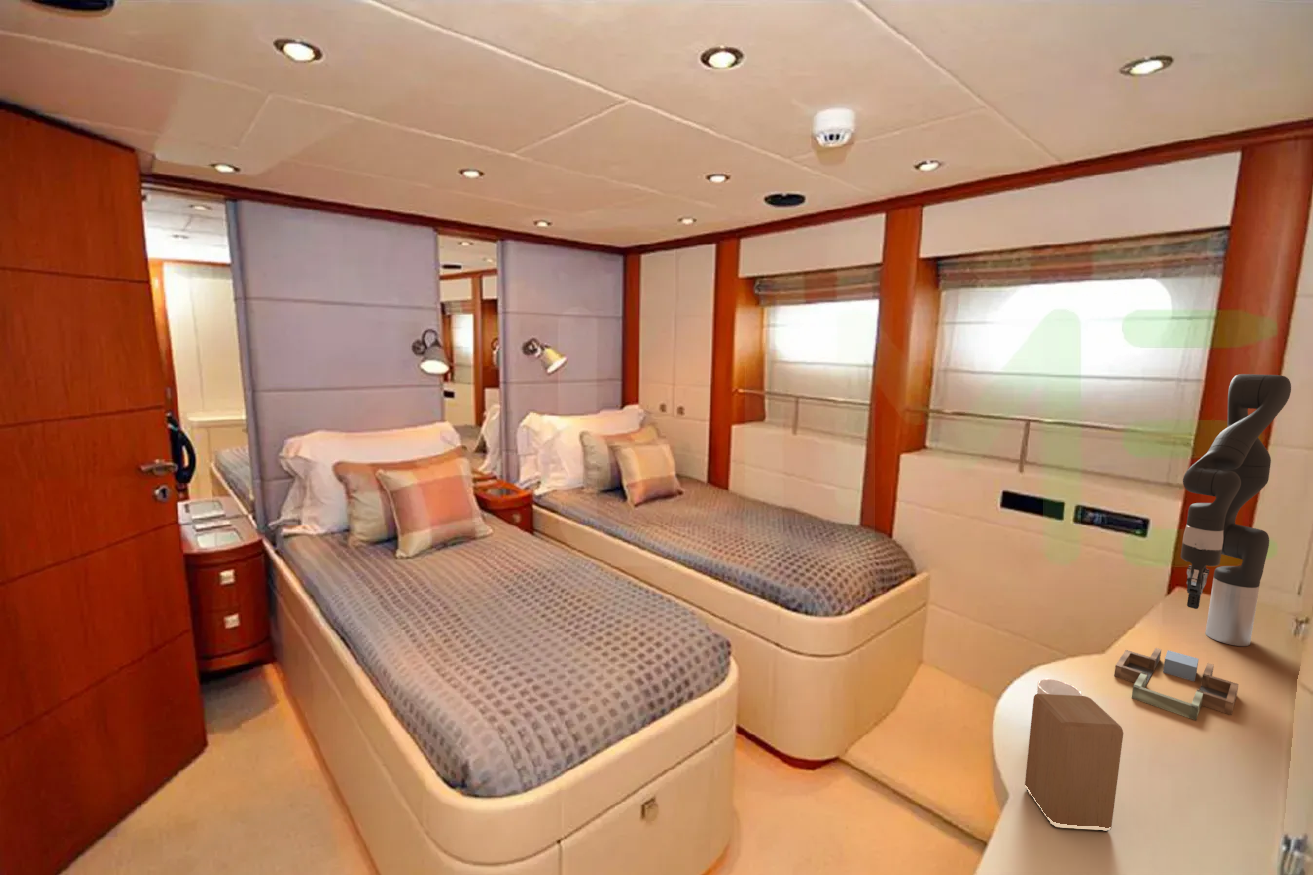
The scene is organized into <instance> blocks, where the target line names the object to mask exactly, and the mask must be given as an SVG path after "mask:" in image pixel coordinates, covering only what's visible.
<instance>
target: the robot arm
mask: <svg viewBox="0 0 1313 875" xmlns="http://www.w3.org/2000/svg"><path fill="white" fill-rule="evenodd" d="M1291 393H1292V383H1291V381H1290V378H1288V377H1287V376H1285V375H1280V374H1279V375H1278V374H1253V373H1241V374H1236V375H1234V377H1233V378H1232V379H1231V381H1230V383H1229V386H1228V393H1227V425H1226V426H1227V427H1226V428H1224V429H1223V430H1222V431H1220V432H1219V434H1218V435H1217V436H1216V437H1215V438H1214V440H1213V442H1212V444H1211V445H1210V447H1209V449H1208V450H1207V452H1206V453H1205V454H1204V455H1203V456H1201V457H1200V459H1198V460H1197V461H1195V462H1194V463H1193V464H1192V465H1191V466H1190V467H1189V468H1188V469H1187V470H1186V471H1185V473H1184V475H1183V477H1182V478H1183V479H1182V484H1183V487H1184V488H1185V490H1186V491H1188V492H1189V493H1193V494H1198V495H1204V496H1210V497H1215V499H1214V501H1213V502H1196V503H1192V504H1190V505H1189V507H1188V511H1187V518H1186V525H1185V528H1184V532H1183V537H1182V543H1181V549H1180V550H1181V551H1180V558H1181V559H1182V560H1183V561H1185V562H1186V563H1188V562H1189V563H1191V564H1188V567H1187V569H1186V576H1187V578H1186V585H1187V586H1186V587H1187V589H1186V592H1187V594H1188V595H1187V596H1188V597H1187V604H1186V606H1187V607H1188V608H1191V609H1194V610H1198V609H1199V607H1200V604H1201V603H1200V602H1201V598H1202V597H1201V596H1202V595H1203V590H1204V589H1205V586H1207V580H1208V577H1209V575H1210V569H1209V568H1207V566H1208V567H1216V568H1215V569H1214V572H1213V579H1212V586H1211V593H1210V600H1209V605H1208V606H1209V607H1208V613H1207V621H1206V626H1205V635H1206V636H1207V637H1208V638H1210V639H1212V640H1214V641H1217V642H1220V643H1223V644H1227V645H1232V646H1236V647H1237V646H1238V647H1248V646H1251V641H1252V635H1253V634H1252V633H1253V629H1254V624H1255V623H1254V622H1255V616H1256V610H1257V604H1258V599H1259V598H1258V597H1259V591H1260V584H1261V580H1262V577H1263V573H1264V569H1265V564H1266V559H1267V555H1268V551H1269V548H1270V537H1269V533H1268V532H1267V531H1265V530H1263V529H1259V528H1256V527H1250V526H1246V525H1240V524H1236V520H1237V516H1238V513H1239V511H1240V510H1241V508H1242V507H1243V506H1244V505H1245V504H1246V503H1247V502H1249V500H1251V499H1252V498H1253V497H1255V496H1256V495H1257V494H1258V493H1259V492H1261V490H1263V489H1264V488H1265V487H1266V485H1267V484H1268V481H1269V478H1270V471H1271V463H1272V459H1271V455H1270V453H1269V451H1268V449H1267V447H1265V445H1264V443H1262V441H1261V439H1260V438H1259V437H1260V436H1261V434H1262V433H1263V432H1264V431H1265V430H1266V429H1267V427H1269V425H1270V424H1271V423H1272V422H1273V421H1274V419H1276V417H1277V416H1278V415H1279V414H1280V412H1281V411H1282V410H1283V409H1284V407H1285V406H1286V405H1287V403H1288V401H1289V399H1290V396H1291ZM1249 409H1252V410H1254V411H1253V412H1252V413H1250V414H1249ZM1222 556H1227V557H1231V558H1236V559H1240V560H1242V562H1241V565H1222V566H1219V565H1220V564H1221V558H1222Z"/></svg>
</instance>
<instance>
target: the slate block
mask: <svg viewBox="0 0 1313 875" xmlns="http://www.w3.org/2000/svg"><path fill="white" fill-rule="evenodd" d="M1199 660H1200V658H1197V657H1193V656H1191V655H1187V654H1184V653H1180V652H1176V651H1172V650H1168V649H1167V651H1166V655H1165V657H1164V661H1163V670H1162V673H1163V674H1167V675H1171V676H1174V677H1178V678H1180V679H1184V680H1186V681H1187V680H1188V681H1191V682H1195V681H1196V676H1197V674H1198V666H1199Z"/></svg>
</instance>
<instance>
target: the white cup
mask: <svg viewBox="0 0 1313 875" xmlns="http://www.w3.org/2000/svg"><path fill="white" fill-rule="evenodd" d="M1036 690H1037V692H1036V694H1055V695H1075V696H1083V693H1081V690H1079V689H1078V688H1077V687H1075V686H1073V685H1072V684H1070V683H1067V682H1064V681H1061V680H1058V679H1052V678H1045V679H1044V678H1043V679H1041V680H1038V682H1037V689H1036Z"/></svg>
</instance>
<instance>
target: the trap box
mask: <svg viewBox="0 0 1313 875" xmlns="http://www.w3.org/2000/svg"><path fill="white" fill-rule="evenodd" d="M1161 655H1162V649H1161V648H1158V647H1155V648H1154V650H1153V651H1152V653H1151V654H1150V656H1147V655H1144V654H1141V653H1138V652H1134V651H1131V650H1128V649H1125V650H1124V652H1123V653H1122V655H1121V656H1120V658H1119V659H1118V661H1117V662H1116V664H1115V667H1114V674H1113V676H1114V677H1116V678H1119V679H1122V680H1125V681H1128V682H1130V683H1133V686H1132V692H1131V698H1132V699H1133V700H1136V701H1140V702H1143V703H1145V704H1148V705H1149V706H1153V707H1156V708H1159V709H1162V710H1164V711H1168V712H1171V713H1172V714H1173V713H1174V714H1176V715H1179V716H1182V717H1185V718H1188V719H1190V720H1193V721H1197V718H1198V716H1199V713H1200V711H1201V707H1205V708H1209V709H1211V710H1214V711H1218V712H1220V713H1222V714H1223V713H1224V714H1226V715H1229V716H1232V714H1233V710H1234V707H1235V705H1236V704H1235V703H1236V699H1237V695H1238V690H1239V683H1237V682H1234V681H1231V680H1227V679H1223V678H1220V677H1217V676H1214V674H1213V673H1214V668H1215V666H1214V664H1213V663H1209V662H1208V663H1206V665H1205V667H1204V669H1203V673H1202V677H1201V682H1200V683H1201V684H1200V687H1199V689H1197V688H1196V691H1195V693H1194V696H1193V699H1192V701H1191V703H1190V702H1188V701H1185V700H1182V699H1178V698H1175V697H1172V696H1170V695H1167V694H1164V693H1160V692H1157V691H1155V690H1151V689H1148V688H1146V686H1147V684H1148V682H1149V680H1150V679H1151V677H1152V676H1153V674H1154V672H1155V670H1156V668H1157V666H1158V664H1159V662H1160V661H1161Z"/></svg>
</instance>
